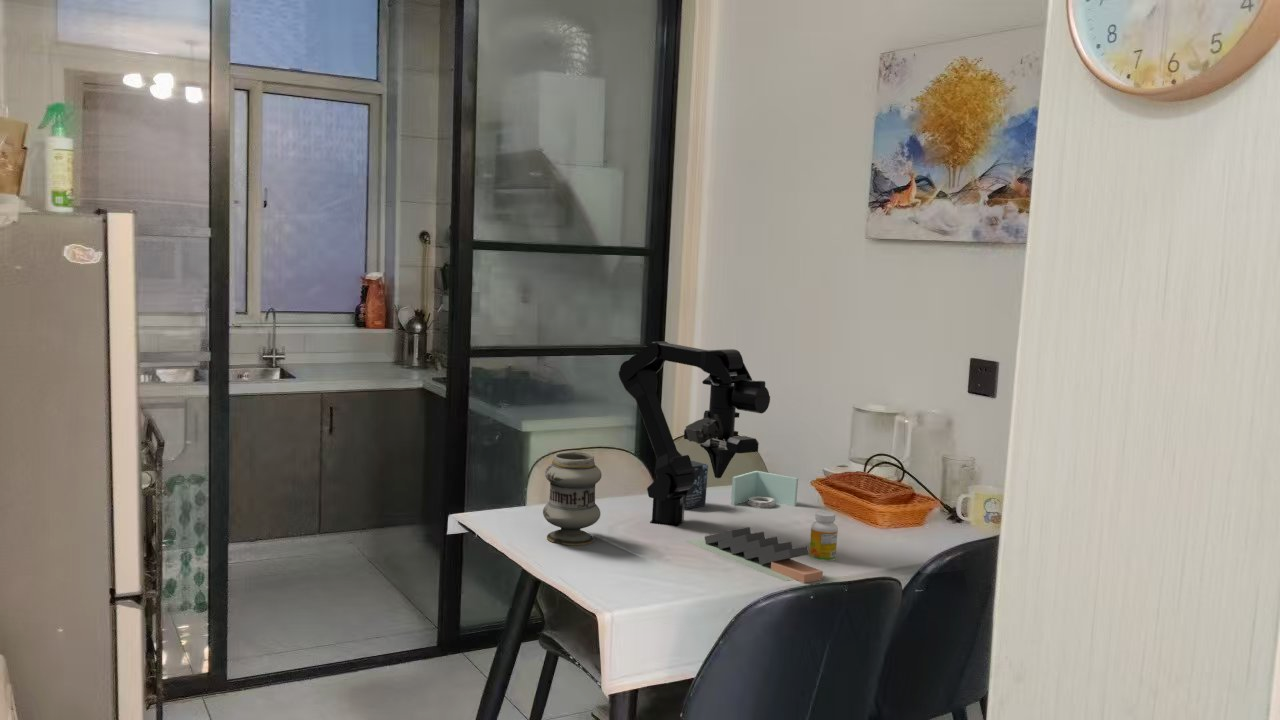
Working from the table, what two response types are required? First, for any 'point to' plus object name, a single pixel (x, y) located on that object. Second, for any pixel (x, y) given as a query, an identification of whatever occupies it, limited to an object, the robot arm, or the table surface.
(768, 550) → the domino
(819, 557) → the supplement bottle
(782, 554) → the domino
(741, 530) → the domino
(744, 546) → the domino
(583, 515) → the apothecary jar
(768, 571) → the rack
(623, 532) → the table surface
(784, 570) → the domino
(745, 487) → the right angle wall
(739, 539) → the domino
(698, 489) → the box
